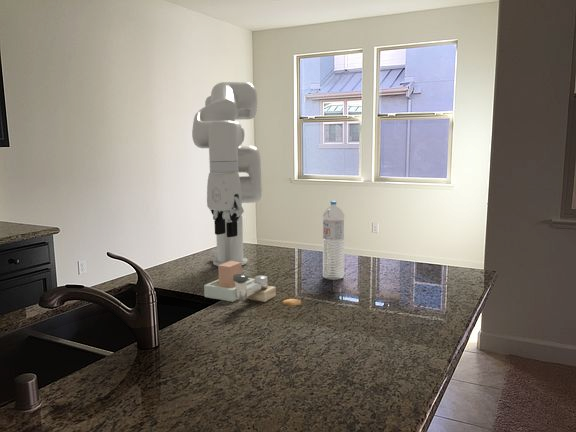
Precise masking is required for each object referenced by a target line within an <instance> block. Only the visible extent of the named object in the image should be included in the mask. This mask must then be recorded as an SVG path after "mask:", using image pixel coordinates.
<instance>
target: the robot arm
mask: <svg viewBox="0 0 576 432" xmlns="http://www.w3.org/2000/svg"><path fill="white" fill-rule="evenodd" d="M210 93H211V94H210V95H209V96H207V97H206V99H205V101H204V107H202V108H201V109H199V110H198V111H197V112H196V113H195V115H194V118H193V122H192V130H191V131H192V141H193V143H194V145H195V146H196V147H197V148H200V149H208V154H209V157H208V158H209V159H208V160H209V161H208V163H209V173H208V178H207V186H206V187H207V188H206V205H207V208H208V209H209V211H210V213H211V215H212V220H214V221H213V222H214V235H216V236H215V237H216V238H215V239H216V249H211V250H210V252H209V256H211V257H214V259H213V260H212V262H213V263H212V265H214V266H216V267H218V265H220V264H223V263H226V262H228V261H236V262H242V266H244V265H247V264H248V262H249V261H248V259H249V258H247V257H245V256H244V237H243V236H244V232H243V231H244V229H243V214H244V212H245V211H244V207H243V206H242V204H252V203H253V204H254V203H257V202H259V201H260V200H261V198H262V190H263V189H262V165H261V155H260V154H261V153H260V150H259V149H258V148H257V147H256V146H255V145H242V144H243V142H244V141H245V134H246V133H245V128H244V127H243V126H242V124H241V123H240V121H239V122H238V121H236V120H251V119H252V120H253V119H254V118H255V116H256V114H257V109H258V92H257V89H256V87H255V85H254V84H252V83H251V82H248V81H222V82H219V83H216V84H215V85H214V86H213V87H212V89H211V92H210ZM239 173H245V174H247V176H240V174H239Z"/></svg>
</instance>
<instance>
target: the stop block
mask: <svg viewBox="0 0 576 432" xmlns="http://www.w3.org/2000/svg"><path fill="white" fill-rule="evenodd" d="M242 266H243V265H242V262H236V261H228V262H226V263H223V264H220V265H218V266H217V267H218V269H217V270H218V279H219V287H225V288H231V289H232V288H234V287H235V281H234V280H233V276H234V275H236V274H243V272H242V271H243V268H242Z"/></svg>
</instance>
